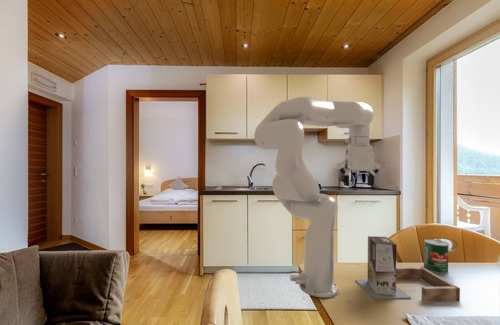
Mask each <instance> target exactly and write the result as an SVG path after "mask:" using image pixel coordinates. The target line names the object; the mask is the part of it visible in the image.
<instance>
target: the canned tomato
mask: <svg viewBox="0 0 500 325" xmlns="http://www.w3.org/2000/svg"><path fill="white" fill-rule="evenodd" d="M423 241H424V242H423V243H424V244H423V247H424V249H423V254H424V255H423V268H425V269H427V270H429V271H430V272H432V273H434V274H439V275H444V274H445V275H447V274H448V273H449V244H450V243H448V242H446V241H442V240H440V239H439V240H438V239H432V238H429V239H428V238H425V239H424V240H423Z"/></svg>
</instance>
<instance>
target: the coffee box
mask: <svg viewBox="0 0 500 325" xmlns="http://www.w3.org/2000/svg"><path fill="white" fill-rule="evenodd" d="M396 267H397V243H395V242H393V241H392V240H391V239H389V237H387V236H371V235H370V236H369V235H368V236H367V280H368V283H369V284H370V286H371V287H372V289H373V290H374V292H375V293H376V294H385V295H394V296H395V295H396V286H397V280H396Z"/></svg>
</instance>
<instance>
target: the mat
mask: <svg viewBox="0 0 500 325" xmlns="http://www.w3.org/2000/svg"><path fill="white" fill-rule="evenodd" d="M354 281H355V282H356V283H357V284H358V285H359V286H360V287H361V288H362V290H364V291H365V292H366V293H367V294H368V295H369V297H371V299H373V300H411V299H412V296H410V295H409V294H407V292H404V291H403V290H402V289H401V288H400V287H399V286H397V285H396V295H395V296H394V295H385V294H376V293H375V292H374V290H373V289H372V287H371V286H370V284H369V283H368V279H355V280H354Z"/></svg>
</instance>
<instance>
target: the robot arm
mask: <svg viewBox="0 0 500 325" xmlns="http://www.w3.org/2000/svg"><path fill="white" fill-rule="evenodd" d="M373 119H374V111H373V108H372V107H371V106H370V105H369V104H367V103H364V102H358V101H336V100H331V101H329V100H323V99H319V98H313V97H308V96H299V97H295V98H292V99H287V100H282V101H281V102H279V103H278V104H277V105H276V106H274V107H273V109H271V111H270V112H269V113H268V114H267V115H265V117H264V118H263V119H262V120H261V122H259V123H258V125H257V126H256V128H255V130H254V134H253V135H254V136H253V137H254V142H255V144H256V146H258V147H259V148H260V149H262V150H277V152H276V159H275V165H274V166H275V167H274V168H275V171H276V173H277V174H276V175H274V177H273V179H272V184H271V185H272V191H273V193H274V196H275V197H276V199H277V200H278V201H279V202H280V204H282V206H283V207H284V208H285V209H286V210H287V212H289V214H290V215H292V216H293V217H295V218H297V219H298V218H299V219H303V220H307V221H310V223H309V225H308V226H307V228H306V230H305V232H304V250H303V251H304V255H303V257H304V262H303V263H304V264H303V265H304V268H303V270H301V273H298V274H297V275H296V274H290V275H289V280H290V282H294V283H295V285H299V288H300V290H301V291H302V292H303V293H305V294H306V295H309V296H311V297H316V298H321V299H323V298H324V299H325V298H327V299H328V298H333V297H335V296H337V295H338V293H339V286H338V284H337V283H336V282H334V275H335V274H334V273H335V271H334V269H335V268H334V267H335V262H334V261H335V228H336V221H337V215H338V212H339V206H338V201H336V199H335V198H334V197H332V196H331V195H328V194H325V193H320V192H321V191H320V190H321V189H320V186H319V183H318V182H317V180H316V178H315V177H314V175H313V174H312V172H311V171H310V169H309V167H307V165H306V163H305V162H304V160H303V156H302V152H303V145H304V141H305V140H304V139H305V129H304V127H303V126H304V125H305V126H317V127H337V128H339V129H348V138H345V141H344V142H345V143H347V144H348V145H346V149H345V155H344V160H342V161H339V162H338V163H336V168H337V169H338V171H339V172H340V174H341V175H342V183H343V185H344V186H346V187H349V185H350V175H349V174H350V172H353V171H354V172H366V173H367V174H368V175H367V186H370V187H373V186H374V184H375V176H376V175H377V174H378V173H379V170H380V169H381V167H382V164H380V163H378V162H377V161H375V156H374V150H373V146H372V145H370V144H371V143H370V138H371V137H370V136H371V135H370V132H371V131H370V127H371V123H372V122H373ZM343 166H344V168H343Z"/></svg>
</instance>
